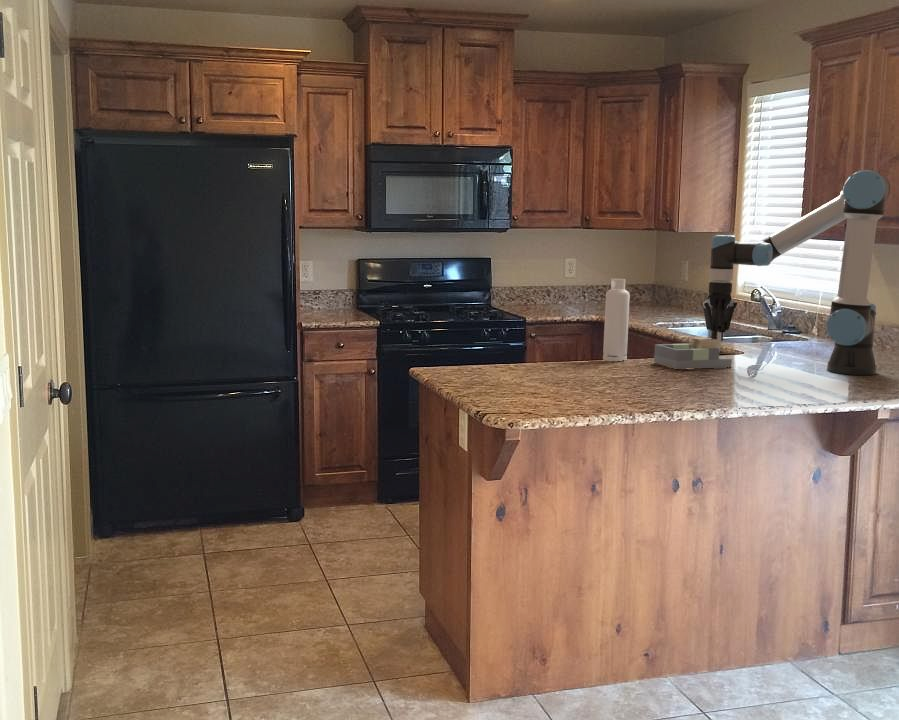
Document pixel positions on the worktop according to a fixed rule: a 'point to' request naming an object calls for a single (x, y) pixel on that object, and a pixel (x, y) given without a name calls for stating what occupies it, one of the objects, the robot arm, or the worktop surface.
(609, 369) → the worktop surface
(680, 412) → the worktop surface
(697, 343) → the block
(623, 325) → the bottle
